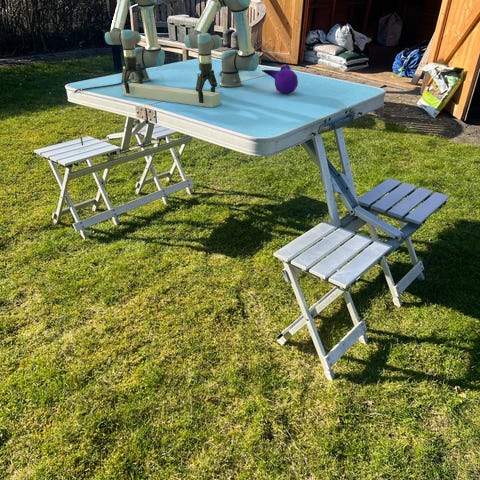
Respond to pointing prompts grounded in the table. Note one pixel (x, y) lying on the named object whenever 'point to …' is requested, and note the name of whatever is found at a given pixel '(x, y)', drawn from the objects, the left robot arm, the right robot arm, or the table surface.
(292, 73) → the toy
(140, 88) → the beige rectangular bar
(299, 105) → the table surface
